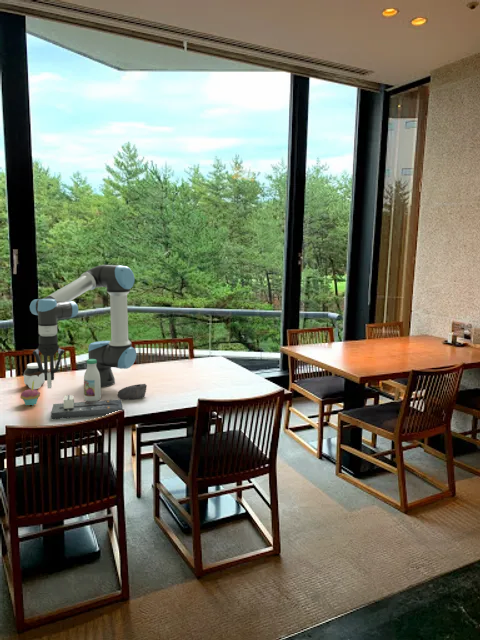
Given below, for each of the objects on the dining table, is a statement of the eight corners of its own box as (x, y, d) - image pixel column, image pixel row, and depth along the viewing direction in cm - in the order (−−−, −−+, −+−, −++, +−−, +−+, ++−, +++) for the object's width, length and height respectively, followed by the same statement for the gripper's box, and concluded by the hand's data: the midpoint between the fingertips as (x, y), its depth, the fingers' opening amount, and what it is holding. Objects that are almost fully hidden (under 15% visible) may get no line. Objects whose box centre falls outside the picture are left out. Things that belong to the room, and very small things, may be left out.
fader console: (53, 410, 219) (53, 403, 218) (121, 405, 227) (121, 399, 227) (51, 419, 207) (51, 412, 207) (122, 414, 216) (122, 407, 216)
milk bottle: (94, 395, 240) (93, 357, 237) (104, 399, 236) (103, 359, 232) (81, 399, 234) (80, 359, 231) (90, 403, 230) (89, 362, 227)
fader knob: (64, 404, 217) (64, 395, 216) (73, 403, 218) (73, 394, 217) (63, 408, 211) (63, 399, 211) (73, 408, 212) (73, 398, 212)
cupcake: (43, 401, 230) (42, 377, 228) (36, 407, 222) (35, 382, 220) (25, 401, 230) (23, 377, 228) (17, 407, 222) (16, 382, 220)
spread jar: (38, 382, 261) (37, 361, 259) (52, 385, 255) (51, 364, 254) (18, 387, 251) (17, 366, 249) (32, 391, 245) (31, 369, 243)
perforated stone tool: (118, 402, 232) (118, 388, 231) (116, 399, 237) (116, 385, 236) (148, 398, 239) (148, 385, 237) (146, 395, 243) (146, 382, 242)
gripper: (30, 336, 202) (32, 390, 205) (63, 335, 206) (64, 389, 209) (32, 333, 209) (34, 385, 212) (64, 332, 213) (65, 384, 216)
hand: (49, 387), depth 211 cm, fingers closed
